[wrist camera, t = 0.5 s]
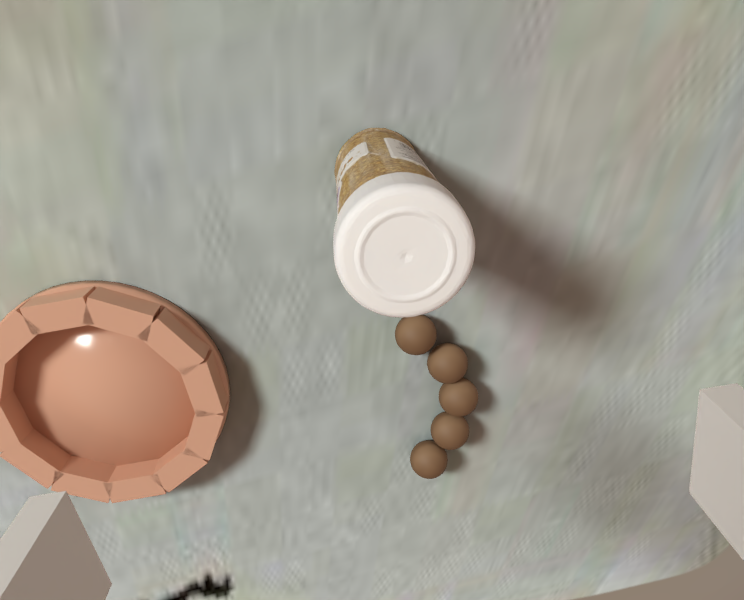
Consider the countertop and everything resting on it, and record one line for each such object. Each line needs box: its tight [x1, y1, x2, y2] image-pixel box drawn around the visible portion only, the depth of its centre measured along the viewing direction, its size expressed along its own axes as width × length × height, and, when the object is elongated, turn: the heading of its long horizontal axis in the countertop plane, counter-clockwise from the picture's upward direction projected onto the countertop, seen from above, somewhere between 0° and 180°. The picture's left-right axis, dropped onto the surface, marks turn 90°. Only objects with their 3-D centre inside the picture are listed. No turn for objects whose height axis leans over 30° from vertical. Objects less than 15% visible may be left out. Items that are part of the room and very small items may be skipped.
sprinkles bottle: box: [333, 128, 475, 317], centre depth 24 cm, size 5×5×13 cm
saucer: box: [0, 281, 230, 503], centre depth 33 cm, size 14×14×2 cm
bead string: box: [395, 315, 478, 479], centre depth 34 cm, size 12×5×2 cm, turn 10°
